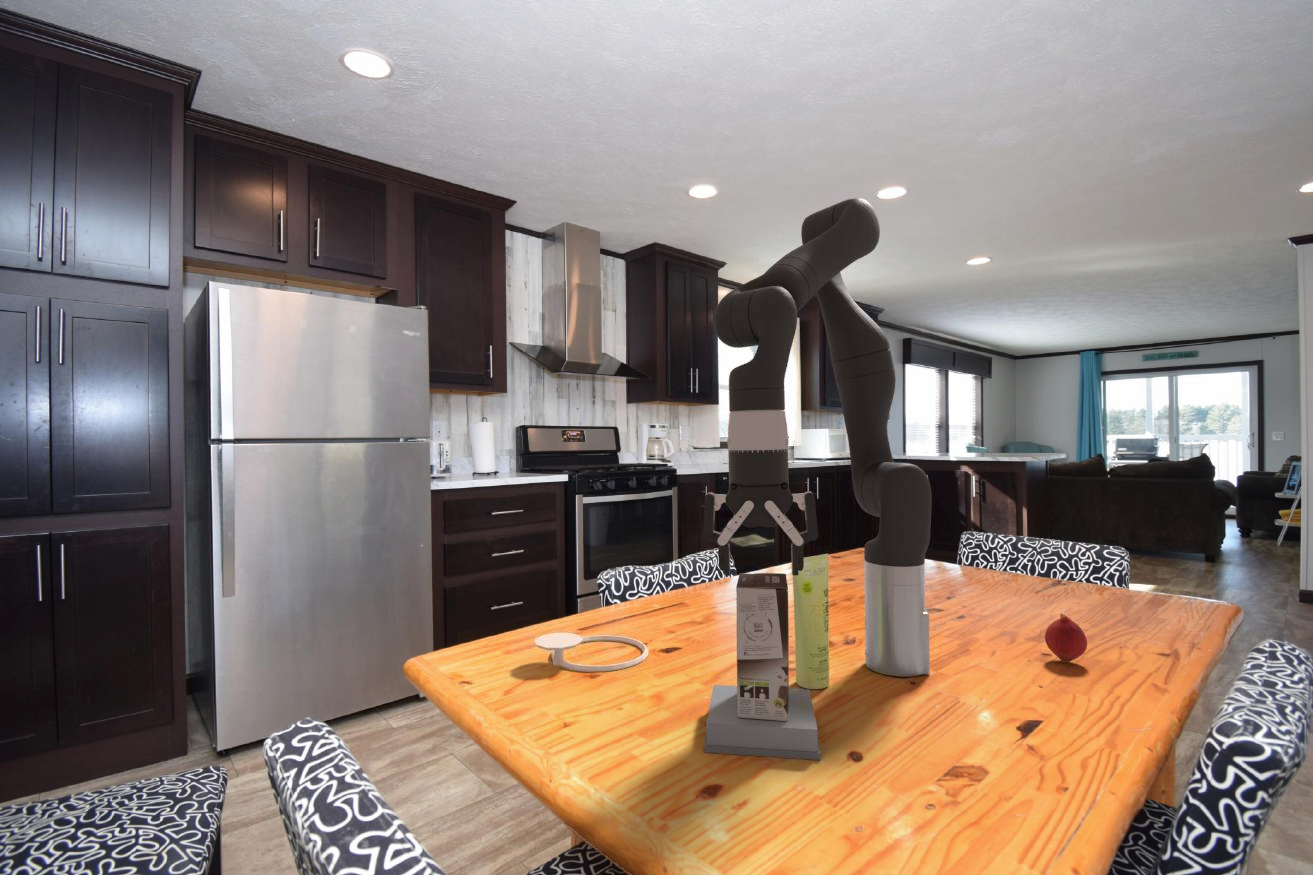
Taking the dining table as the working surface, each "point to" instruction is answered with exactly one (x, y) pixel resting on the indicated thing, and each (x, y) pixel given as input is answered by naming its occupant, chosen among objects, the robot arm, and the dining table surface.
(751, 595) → the coffee box
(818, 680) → the tube
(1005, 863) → the dining table surface
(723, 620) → the dining table surface
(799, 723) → the plate
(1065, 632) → the onion
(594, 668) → the hand towel holder
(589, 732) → the dining table surface
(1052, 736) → the dining table surface
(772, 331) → the robot arm
